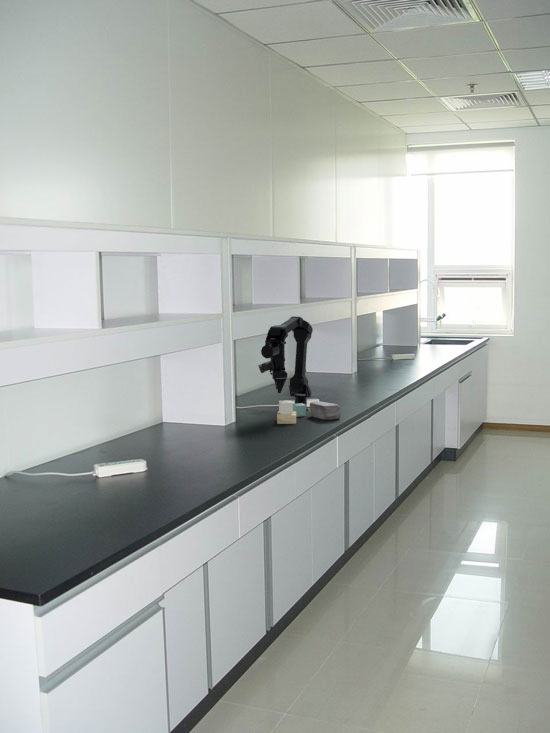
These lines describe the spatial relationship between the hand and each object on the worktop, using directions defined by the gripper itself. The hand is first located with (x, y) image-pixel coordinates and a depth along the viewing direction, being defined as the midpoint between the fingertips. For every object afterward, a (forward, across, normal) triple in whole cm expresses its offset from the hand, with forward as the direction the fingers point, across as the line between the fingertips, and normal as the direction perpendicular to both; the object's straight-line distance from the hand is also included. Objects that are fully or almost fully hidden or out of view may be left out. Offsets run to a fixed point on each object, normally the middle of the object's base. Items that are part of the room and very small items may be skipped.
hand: (278, 391), depth 350 cm
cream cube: (+8, +7, +2) cm, 11 cm away
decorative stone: (+13, +1, +20) cm, 24 cm away
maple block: (+12, +7, +3) cm, 15 cm away
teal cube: (+12, -6, +10) cm, 17 cm away
